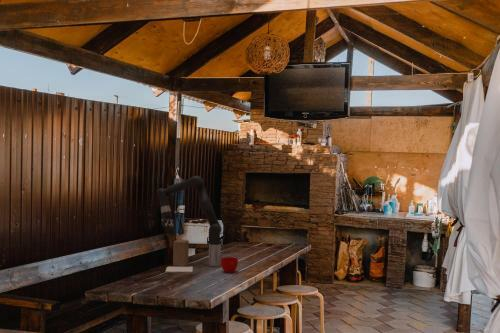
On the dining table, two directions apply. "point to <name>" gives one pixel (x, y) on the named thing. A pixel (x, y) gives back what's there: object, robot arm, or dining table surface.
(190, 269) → the pale grey mat
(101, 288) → the dining table surface
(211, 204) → the robot arm
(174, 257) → the wooden block
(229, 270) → the ceramic cup
